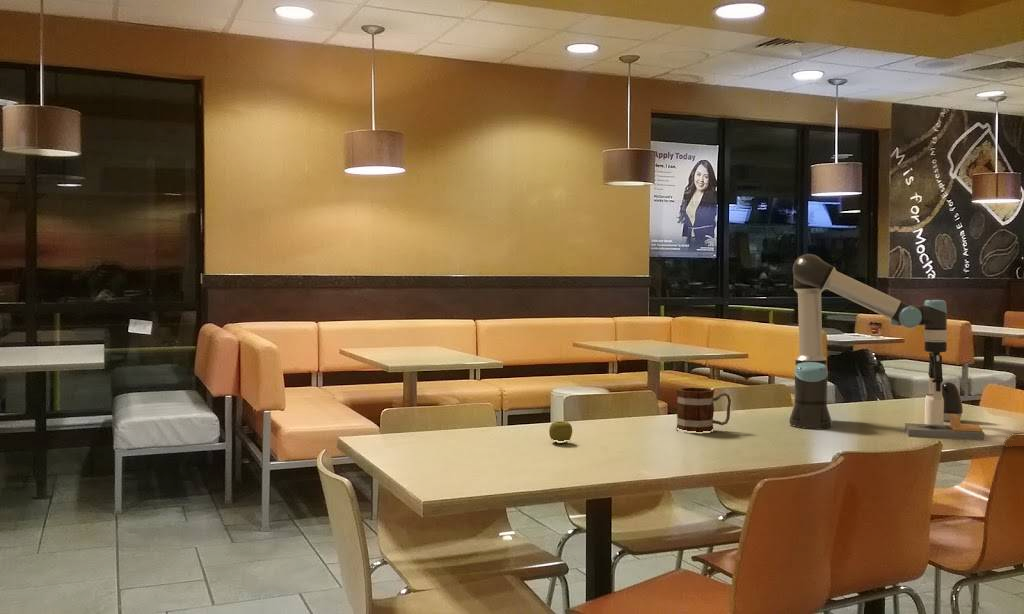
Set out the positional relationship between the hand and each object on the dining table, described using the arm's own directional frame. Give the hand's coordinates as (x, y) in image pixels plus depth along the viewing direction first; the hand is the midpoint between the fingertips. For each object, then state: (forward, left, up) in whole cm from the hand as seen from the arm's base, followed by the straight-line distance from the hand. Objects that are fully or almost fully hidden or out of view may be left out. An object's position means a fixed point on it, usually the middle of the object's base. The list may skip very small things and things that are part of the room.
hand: (935, 397), depth 342 cm
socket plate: (+1, -18, -11) cm, 21 cm away
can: (0, 0, -11) cm, 11 cm away
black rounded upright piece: (+7, +17, -11) cm, 21 cm away
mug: (-81, -37, -11) cm, 90 cm away
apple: (-124, -77, -11) cm, 147 cm away
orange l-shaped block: (+8, -18, -8) cm, 21 cm away
